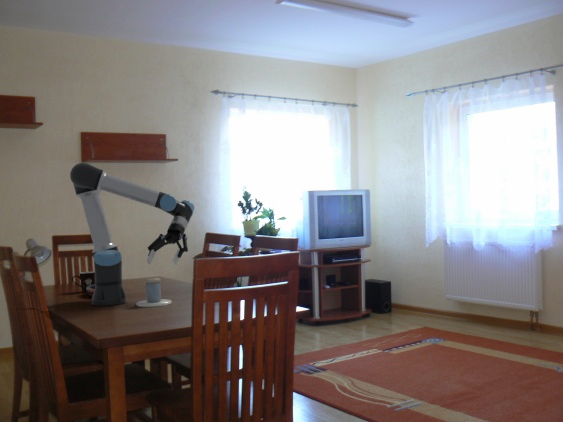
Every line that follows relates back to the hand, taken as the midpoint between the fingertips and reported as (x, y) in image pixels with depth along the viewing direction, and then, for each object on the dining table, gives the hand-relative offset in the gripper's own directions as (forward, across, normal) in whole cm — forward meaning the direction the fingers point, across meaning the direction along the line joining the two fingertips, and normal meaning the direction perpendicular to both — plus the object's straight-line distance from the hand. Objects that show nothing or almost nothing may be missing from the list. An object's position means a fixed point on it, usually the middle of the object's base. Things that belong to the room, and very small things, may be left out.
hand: (161, 262), depth 273 cm
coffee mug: (-4, +60, -29) cm, 67 cm away
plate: (+19, -1, -6) cm, 20 cm away
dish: (+3, +43, -23) cm, 49 cm away
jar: (+18, -1, -5) cm, 19 cm away
